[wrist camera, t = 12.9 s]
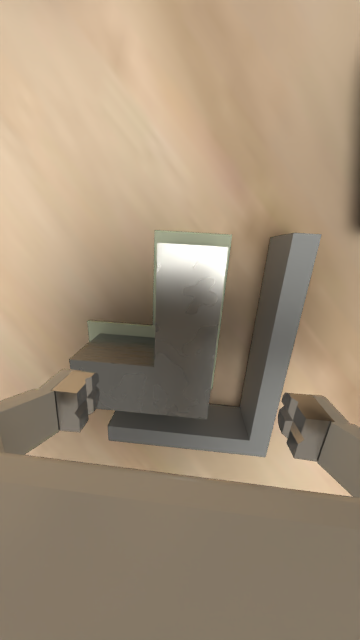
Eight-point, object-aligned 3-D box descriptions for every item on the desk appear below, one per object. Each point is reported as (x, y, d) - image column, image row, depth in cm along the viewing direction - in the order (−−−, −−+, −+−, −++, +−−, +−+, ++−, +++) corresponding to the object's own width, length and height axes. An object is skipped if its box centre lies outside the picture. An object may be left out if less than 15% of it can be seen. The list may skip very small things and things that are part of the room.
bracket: (218, 248, 16) (228, 247, 12) (204, 380, 20) (207, 419, 15) (94, 240, 17) (54, 236, 12) (102, 371, 21) (74, 406, 16)
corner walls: (253, 421, 22) (265, 457, 18) (123, 408, 22) (108, 440, 18) (291, 238, 16) (321, 234, 12) (118, 228, 17) (95, 221, 13)
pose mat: (212, 387, 21) (212, 389, 20) (93, 376, 21) (91, 378, 21) (231, 235, 16) (232, 234, 16) (81, 226, 17) (79, 225, 17)
